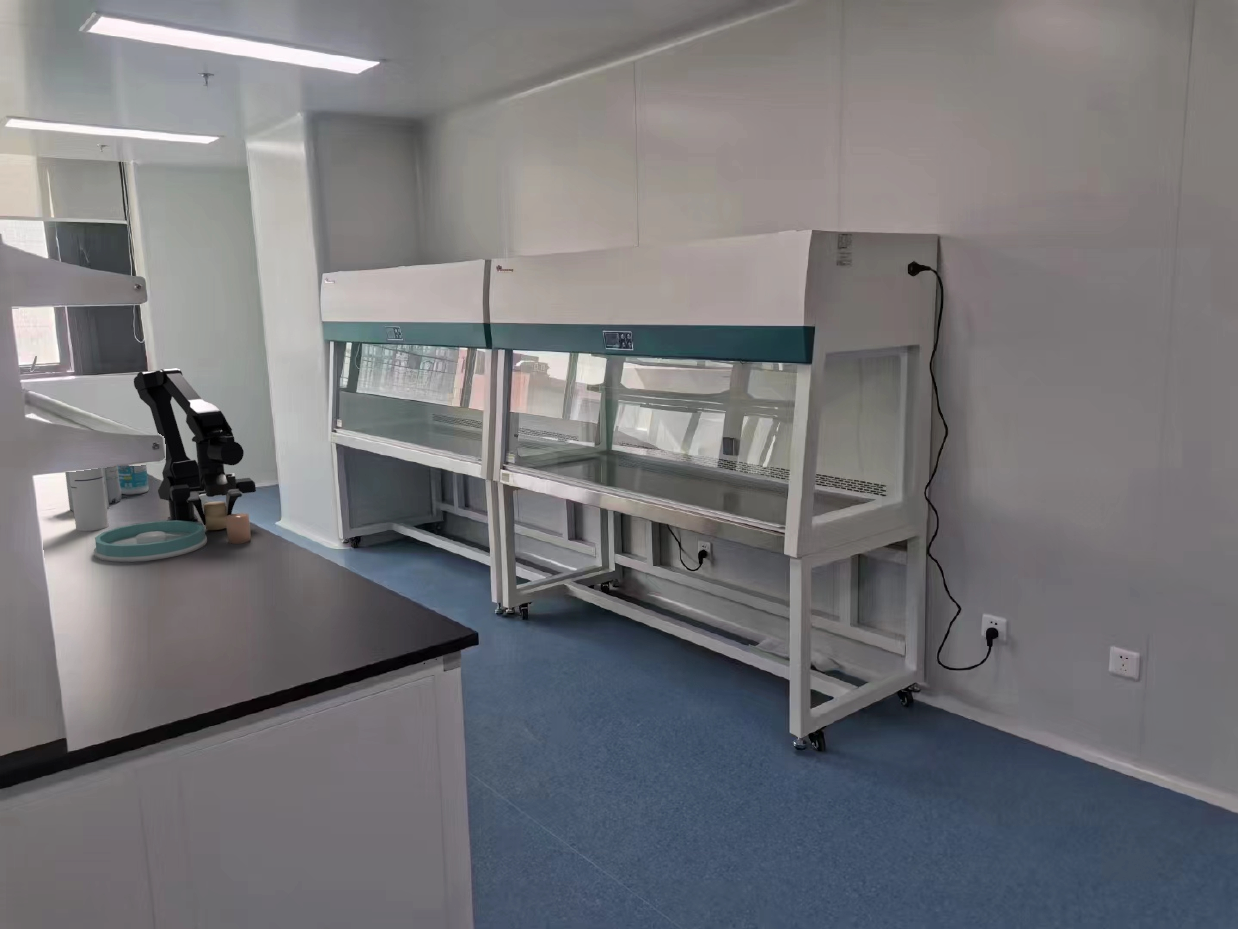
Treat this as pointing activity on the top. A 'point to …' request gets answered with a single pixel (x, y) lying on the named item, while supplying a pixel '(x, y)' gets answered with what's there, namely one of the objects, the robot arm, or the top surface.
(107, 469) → the bottle
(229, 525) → the pinkish brown short cylinder
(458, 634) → the top surface
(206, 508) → the wood cylinder
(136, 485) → the pill bottle
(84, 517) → the cylindrical container
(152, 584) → the top surface
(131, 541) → the groove tray
